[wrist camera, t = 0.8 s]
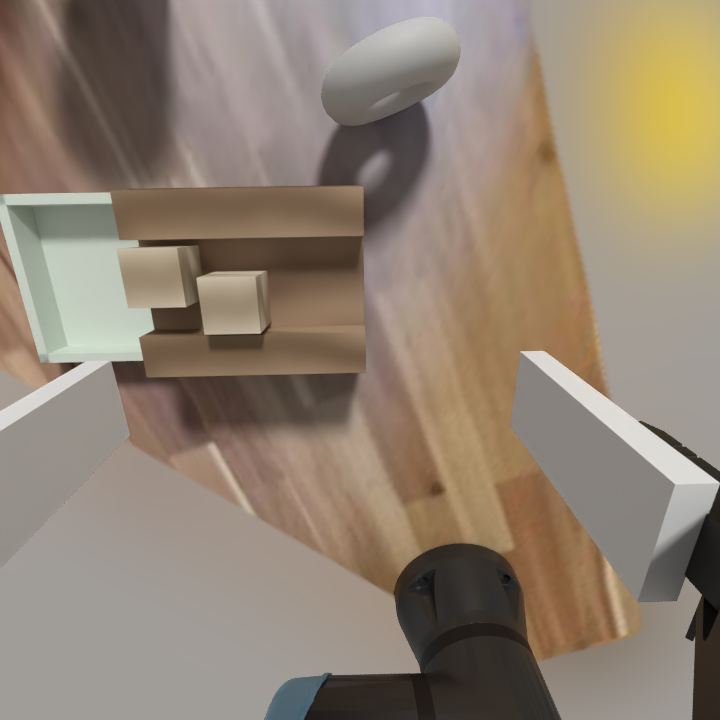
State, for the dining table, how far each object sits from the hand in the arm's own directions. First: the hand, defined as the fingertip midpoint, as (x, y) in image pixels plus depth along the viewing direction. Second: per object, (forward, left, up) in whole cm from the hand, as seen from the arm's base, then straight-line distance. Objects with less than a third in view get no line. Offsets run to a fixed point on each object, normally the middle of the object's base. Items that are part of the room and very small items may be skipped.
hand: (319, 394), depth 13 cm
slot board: (+1, +7, -26) cm, 27 cm away
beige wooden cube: (0, +8, -20) cm, 21 cm away
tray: (+1, +21, -26) cm, 33 cm away
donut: (+15, -4, -26) cm, 30 cm away
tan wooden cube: (+2, +13, -20) cm, 23 cm away
